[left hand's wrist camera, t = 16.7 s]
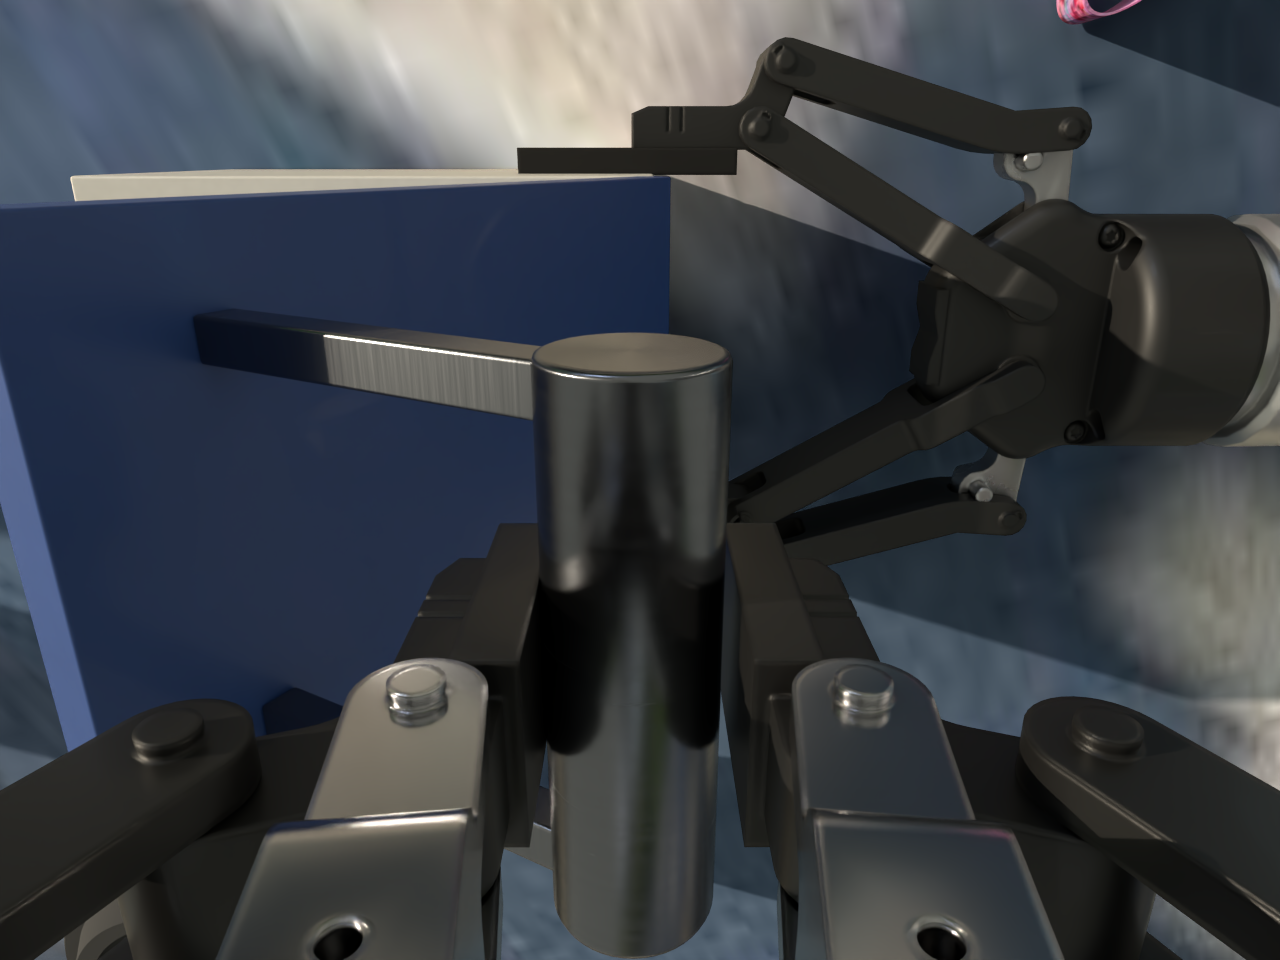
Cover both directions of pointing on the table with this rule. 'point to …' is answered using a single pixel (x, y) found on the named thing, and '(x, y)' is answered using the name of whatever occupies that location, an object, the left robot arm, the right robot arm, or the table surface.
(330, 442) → the lid
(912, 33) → the table surface
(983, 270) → the right robot arm
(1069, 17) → the headband
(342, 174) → the chest
